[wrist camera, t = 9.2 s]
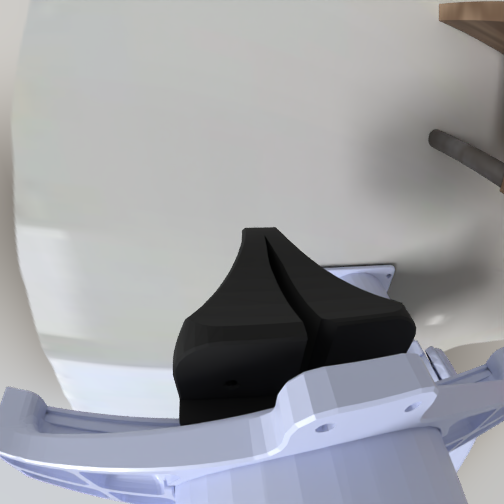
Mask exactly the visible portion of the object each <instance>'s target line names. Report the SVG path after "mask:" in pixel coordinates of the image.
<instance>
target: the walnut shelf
mask: <svg viewBox="0 0 504 504" xmlns="http://www.w3.org/2000/svg"><path fill="white" fill-rule="evenodd" d="M439 21H441V22H444V23H446V24H448V25H450V26H452V27H454V28H456V29H459V30H461V31H463V32H465V33H467V34H469V35H470V36H472V37H474V38H476V39H478V40H480V41H482V42H484V43H485V44H487V45H489V46H491V47H492V48H494V49H496V50H497V51H499V52H501V53H502V54H504V2H502V1H481V2H459V3H446V4H439ZM429 144H430V145H431V146H432V147H434V148H436V149H437V150H439V151H441V152H443V153H445V154H447V155H448V156H450V157H452V158H454V159H455V160H457V161H459V162H461V163H462V164H464V165H466V166H467V167H469V168H471V169H472V170H474V171H476V172H477V173H479V174H480V175H482V176H484V177H485V178H487V179H488V180H490V181H491V182H493V183H494V184H496V185H497V186H499V187H500V192H502V193H503V194H504V163H503V162H501V161H499V160H498V159H496V158H494V157H492V156H490V155H488V154H487V153H485V152H483V151H481V150H479V149H477V148H475V147H473V146H471V145H469V144H467V143H465V142H463V141H461V140H459V139H457V138H455V137H453V136H450V135H448V134H446V133H444V132H442V131H439V130H433V131H432V132H431V133H430V135H429Z"/></svg>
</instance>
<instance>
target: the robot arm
mask: <svg viewBox="0 0 504 504" xmlns="http://www.w3.org/2000/svg"><path fill="white" fill-rule="evenodd" d="M394 272H395V268H394V266H393V265H377V266H357V267H337V268H322V267H321V266H319V265H318V264H317V263H315V262H314V261H313V260H311V259H310V258H309V257H308V256H306V255H305V254H304V253H303V252H302V251H300V250H299V249H298V248H297V247H296V246H295V245H294V244H293V243H291V242H290V241H289V240H288V239H287V238H286V237H285V236H284V235H283V234H282V233H281V232H280V231H279V230H278V229H277V228H276V227H270V228H244V229H243V230H242V243H241V246H240V249H239V252H238V255H237V257H236V260H235V262H234V264H233V266H232V268H231V270H230V272H229V273H228V275H227V277H226V278H225V280H224V281H223V283H222V284H221V285H220V287H219V288H218V289H217V291H216V292H215V293H214V294H213V295H212V296H211V297H210V298H209V299H208V300H207V302H206V303H205V304H204V305H203V306H202V307H200V308H199V309H198V310H197V311H196V312H194V313H193V314H192V315H191V316H189V317H188V318H187V319H185V321H184V323H183V326H182V328H181V331H180V333H179V336H178V339H177V342H176V346H175V350H174V356H173V377H174V380H175V384H176V387H177V391H178V394H179V398H180V410H179V419H170V418H144V417H129V416H116V415H106V414H97V413H89V412H81V411H74V410H67V409H62V408H55V407H50V406H47V405H46V404H45V402H44V400H43V399H42V398H41V397H40V396H39V395H37V394H36V393H34V392H31V391H28V390H23V389H18V388H13V387H6V389H5V392H4V395H3V398H2V401H1V404H0V458H1V459H2V460H4V461H5V462H6V463H8V464H9V465H11V466H12V467H14V468H15V469H17V470H18V471H20V472H21V473H23V474H24V475H26V476H28V477H30V478H33V479H36V480H39V481H42V482H45V483H49V484H52V485H56V486H59V487H62V488H66V489H69V490H73V491H77V492H80V493H84V494H88V495H92V496H96V497H101V498H105V499H110V500H114V501H120V502H125V503H130V504H468V503H467V500H466V498H465V495H464V492H463V489H462V486H461V484H460V481H459V478H458V476H457V472H458V470H459V468H460V467H461V465H462V463H463V461H464V460H465V458H466V457H467V455H468V453H469V451H470V450H471V448H472V446H473V444H474V442H475V440H476V438H477V437H478V436H479V435H481V434H483V433H485V432H486V431H488V430H489V429H491V428H493V427H495V426H496V425H498V424H499V423H501V422H503V421H504V347H502V348H500V349H498V350H496V351H495V352H494V353H493V354H492V355H491V356H490V358H489V359H488V360H487V362H486V364H484V365H481V366H479V367H476V368H474V369H471V370H468V371H465V372H463V373H460V374H457V373H456V372H455V370H454V368H453V366H452V364H451V363H450V361H449V359H448V358H447V356H446V355H445V354H444V352H443V351H442V350H441V349H438V348H434V347H432V346H430V347H429V348H427V349H426V350H425V352H426V354H427V356H428V358H429V360H430V362H429V360H428V359H427V357H426V355H425V354H424V352H423V350H422V348H421V346H420V345H419V343H418V341H415V340H414V337H415V334H416V326H415V323H414V321H413V319H412V318H411V316H410V315H409V313H408V311H407V310H406V308H405V307H404V305H403V304H402V303H401V302H397V301H394V300H391V299H390V298H389V296H388V294H387V291H388V288H389V286H390V283H391V280H392V277H393V274H394ZM388 274H389V275H388ZM430 363H431V364H430ZM431 365H432V366H431Z"/></svg>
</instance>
